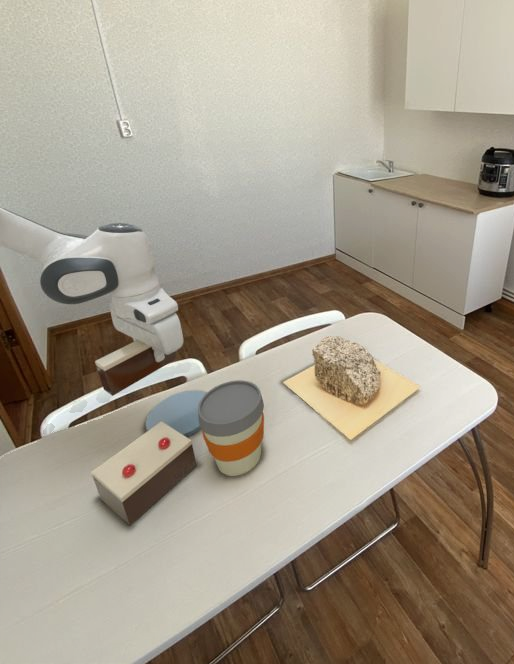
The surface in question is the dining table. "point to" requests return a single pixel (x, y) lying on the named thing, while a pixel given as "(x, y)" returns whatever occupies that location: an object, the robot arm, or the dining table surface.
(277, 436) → the dining table surface
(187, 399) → the plate
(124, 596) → the dining table surface
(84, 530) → the dining table surface
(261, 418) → the reusable coffee cup
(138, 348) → the cake slice
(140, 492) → the cake
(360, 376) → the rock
